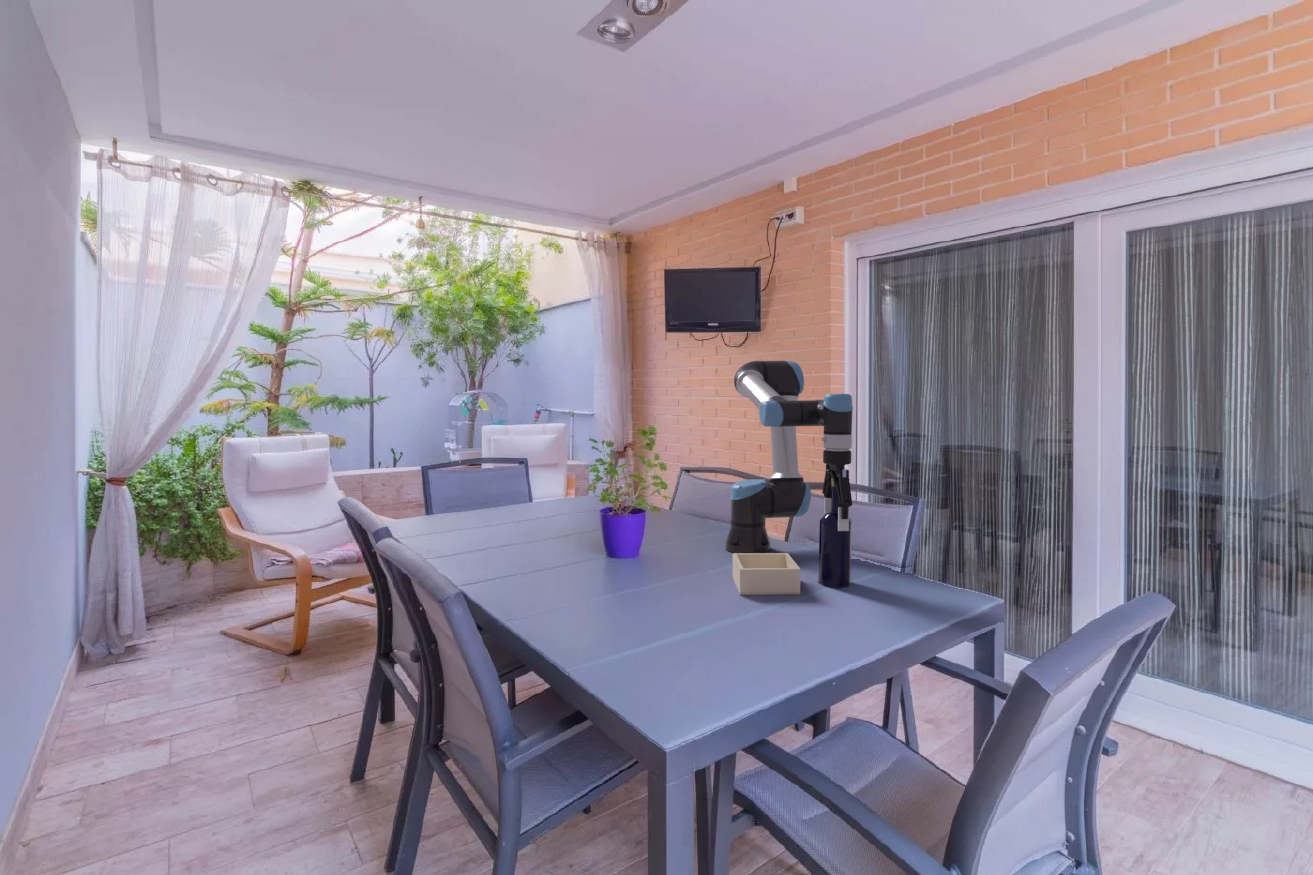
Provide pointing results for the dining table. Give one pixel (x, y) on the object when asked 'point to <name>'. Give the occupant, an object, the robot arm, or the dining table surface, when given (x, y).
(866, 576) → the dining table surface
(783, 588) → the bin
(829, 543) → the bottle
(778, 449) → the robot arm
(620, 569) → the dining table surface
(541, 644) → the dining table surface
